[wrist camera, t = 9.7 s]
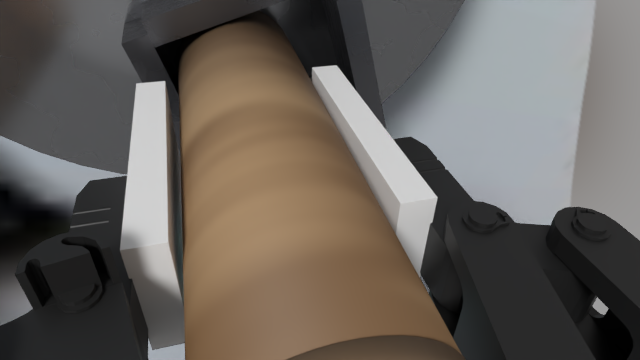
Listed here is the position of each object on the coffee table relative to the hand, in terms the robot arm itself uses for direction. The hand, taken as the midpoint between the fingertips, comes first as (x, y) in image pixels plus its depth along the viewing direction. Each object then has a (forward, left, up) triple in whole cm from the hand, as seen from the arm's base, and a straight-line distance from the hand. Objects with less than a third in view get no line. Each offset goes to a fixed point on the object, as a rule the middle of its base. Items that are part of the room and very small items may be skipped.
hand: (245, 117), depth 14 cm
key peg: (0, 0, -4) cm, 4 cm away
